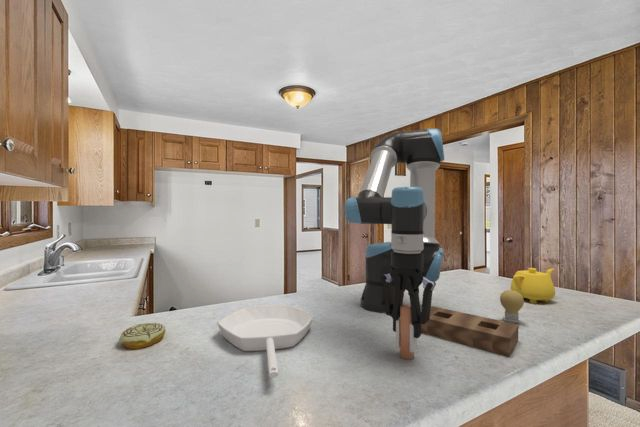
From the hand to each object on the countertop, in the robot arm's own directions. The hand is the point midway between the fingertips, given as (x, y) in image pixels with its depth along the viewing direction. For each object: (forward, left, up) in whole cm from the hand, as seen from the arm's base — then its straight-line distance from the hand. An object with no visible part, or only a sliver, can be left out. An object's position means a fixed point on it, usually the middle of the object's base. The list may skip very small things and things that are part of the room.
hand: (406, 347), depth 74 cm
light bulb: (+15, +43, -2) cm, 46 cm away
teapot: (+17, +77, -2) cm, 79 cm away
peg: (0, 0, -2) cm, 2 cm away
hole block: (+7, +22, -2) cm, 23 cm away
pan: (-30, -18, -2) cm, 35 cm away
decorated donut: (-57, -39, -3) cm, 69 cm away
